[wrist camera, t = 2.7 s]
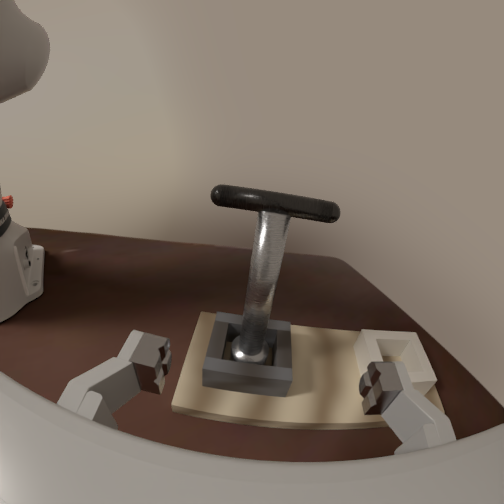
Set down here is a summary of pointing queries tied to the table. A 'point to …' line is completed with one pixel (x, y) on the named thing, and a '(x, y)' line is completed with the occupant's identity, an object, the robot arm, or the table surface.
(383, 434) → the table surface
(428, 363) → the frame
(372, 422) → the tool board
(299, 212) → the chuck key
